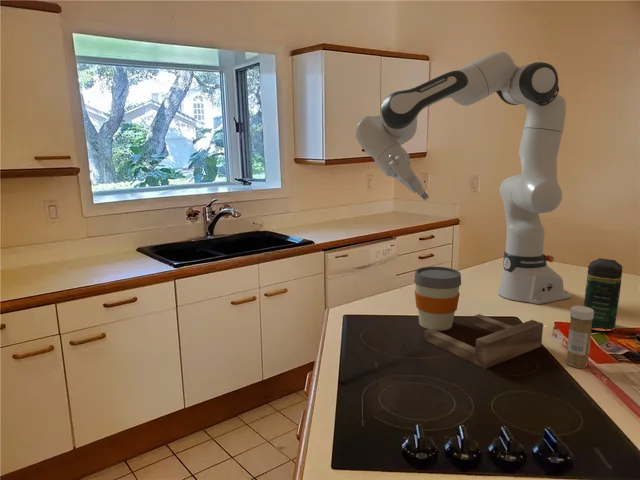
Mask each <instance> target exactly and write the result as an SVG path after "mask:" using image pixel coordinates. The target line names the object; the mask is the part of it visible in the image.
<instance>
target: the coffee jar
mask: <svg viewBox="0 0 640 480" xmlns="http://www.w3.org/2000/svg"><path fill="white" fill-rule="evenodd" d="M587 268H588V269H587V273H586V283H585V291H584V292H585V293H584V300H583V306H585V307H589V308H591V309H593V310H594V318H593V320H592V328H603V329H613V328H614V329H615V328H616V322H617V315H618V307H619V302H620V295H621V294H620V293H621V286H622V275H623V266H622V264H621V263H619V262H617V260H616V259H615V260H614V259H608V258H599V257H598V259H594V260H592V261H591V262H589V264H588V266H587Z"/></svg>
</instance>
